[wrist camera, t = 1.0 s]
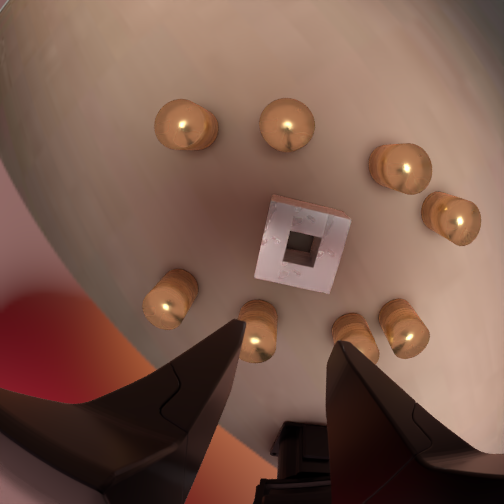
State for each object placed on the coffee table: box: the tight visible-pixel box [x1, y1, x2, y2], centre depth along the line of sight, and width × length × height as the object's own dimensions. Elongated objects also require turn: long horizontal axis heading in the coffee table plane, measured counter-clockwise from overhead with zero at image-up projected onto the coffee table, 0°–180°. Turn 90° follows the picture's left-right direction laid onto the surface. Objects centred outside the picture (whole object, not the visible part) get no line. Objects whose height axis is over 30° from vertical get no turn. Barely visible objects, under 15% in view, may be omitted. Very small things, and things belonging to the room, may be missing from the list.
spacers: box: [142, 98, 481, 364], centre depth 19 cm, size 17×22×4 cm
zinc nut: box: [254, 194, 352, 294], centre depth 20 cm, size 5×5×3 cm
